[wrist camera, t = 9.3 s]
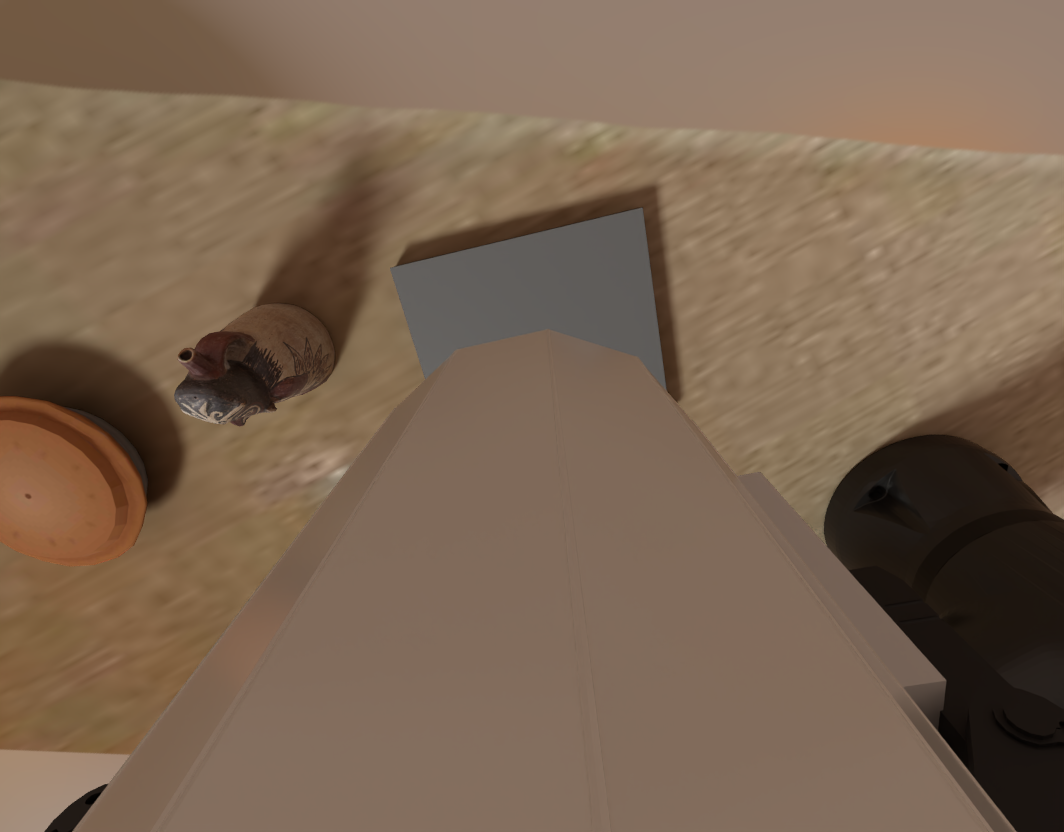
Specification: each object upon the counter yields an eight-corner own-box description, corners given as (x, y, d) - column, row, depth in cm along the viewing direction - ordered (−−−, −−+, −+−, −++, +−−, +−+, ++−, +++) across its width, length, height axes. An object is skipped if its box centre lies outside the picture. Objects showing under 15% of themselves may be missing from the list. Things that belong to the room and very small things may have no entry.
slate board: (638, 208, 35) (642, 207, 33) (665, 414, 41) (670, 421, 39) (395, 266, 36) (389, 268, 35) (455, 456, 42) (452, 464, 41)
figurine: (245, 381, 40) (132, 444, 29) (242, 293, 37) (117, 324, 26) (335, 396, 40) (258, 464, 29) (338, 310, 38) (254, 347, 26)
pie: (19, 535, 46) (-40, 571, 41) (-40, 374, 40) (-116, 395, 35) (188, 546, 46) (149, 583, 41) (154, 388, 40) (104, 410, 36)
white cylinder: (679, 299, 15) (1822, 923, 2) (712, 586, 19) (1128, 1451, 6) (335, 376, 16) (-677, 1153, 3) (435, 633, 20) (230, 1465, 7)
